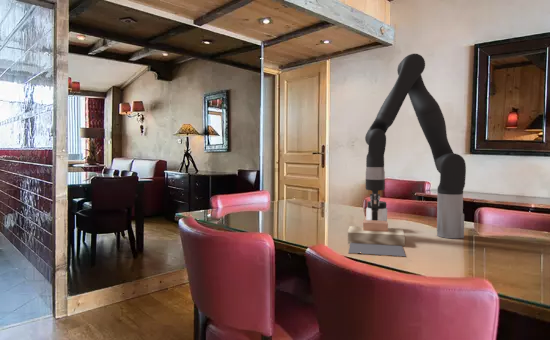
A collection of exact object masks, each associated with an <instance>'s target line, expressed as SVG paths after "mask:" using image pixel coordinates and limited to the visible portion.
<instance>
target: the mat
mask: <svg viewBox="0 0 550 340" xmlns="http://www.w3.org/2000/svg"><path fill="white" fill-rule="evenodd" d="M403 247H404V246H401V245H383V244H365V243H349V248H348V254H349V253H360V252H361V253H363V254H362V255H365V254H375V255H374V256H381V255H392V256H391V257H397V256H404V257H403V258H407V256H406V253H405V250H404V248H403Z"/></svg>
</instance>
